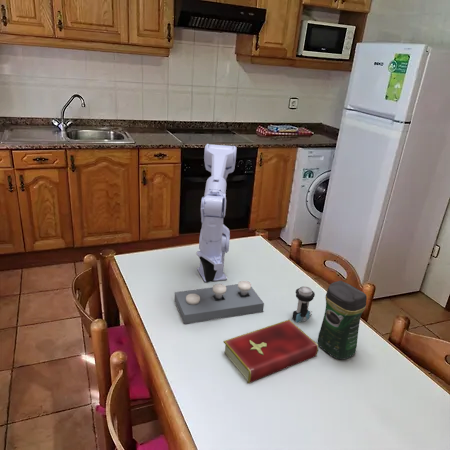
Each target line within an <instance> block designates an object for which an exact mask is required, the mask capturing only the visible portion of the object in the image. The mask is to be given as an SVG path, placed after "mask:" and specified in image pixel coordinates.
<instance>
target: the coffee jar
mask: <svg viewBox="0 0 450 450" xmlns="http://www.w3.org/2000/svg"><path fill="white" fill-rule="evenodd" d="M367 297H368V296H367V294H366V293H364V292H363V291H361V290H360V289H359V288H357V287H354V286H353V285H352V284H349V283H347V282H345V281H343V280H338V281H334V282H331V283H330V284H329V286H328V288H327V290H326V293H325V310H324V314H323V319H322V322H321V326H320V329H319V332H318V336H317V344H318V347H320V348H321V349H322V350H323V351H325V352H326V353H327V354H329V356H332V357H333V358H335V359H337V360H347V359H349V358H352V357H353V356H354V355H355V354H356V352H357V347H358V336H359V330H360V329H359V328H360V322H361V318H362V314H363V313H364V311H365V310H366V308H367V299H368V298H367Z"/></svg>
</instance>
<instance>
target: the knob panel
mask: <svg viewBox="0 0 450 450" xmlns="http://www.w3.org/2000/svg"><path fill="white" fill-rule="evenodd" d="M225 286H226V293H225V294H223V295H222V298H221V299H218V298H216V294H215V293H213V286H212V287H205V288H198V289H196V288H195V289H189V290H182V291H174V302H175V306H176V307H177V310H178V313H179V316H180V317H181V319H182V322H183V325H189V324H194V323H200V322H207V321H213V320H221V319H225V318H226V319H227V318H232V317H233V318H234V317H238V316H239V317H240V316H245V315H252V314H257V313H258V314H259V313H263V312H264V307H265V303H264V301H263V300H262V299H261V297H260V295H258V293H257V292H256V291H255V290H254V288H253V287H252V286H251V290H249V291H247V295H242V294H241V290H239V289H238V283H237V284H236V283H235V284H228V285H225ZM188 294H197V295H199V296H200V302H199V303H198V304H196V305H189V304H188V303H187V302H186V296H187V295H188Z"/></svg>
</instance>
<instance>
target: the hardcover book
mask: <svg viewBox="0 0 450 450" xmlns="http://www.w3.org/2000/svg"><path fill="white" fill-rule="evenodd" d="M223 344H224V353H225V355H226V356H227V357H228V358H229V360H230V361H231V362H232V363H233V365H234V366H235V367H236V368H237V369H238V371H239V372H240V373H241V375H243V377H245V379H246V380H247V383H248V384H250V383H253V382H255V381H257V380H260V379H263V378H265V377H268V376H271V375H272V374H275V373H277V372H280V371H283V370H285V369H287V368H289V367H292V366H295V365H297V364H300V363H302V362H305V361H307V360H310V359H312V358H315V357H318V356H317V355H318V353H319V344H318V342H316V341H315V340H313V339H312V338H311V337H310V336H309V335H308V334H307V333H305V332H304V331H303V330H302V329H301V328H299V326H297V325H296V324H295V323H294V322H293V321H292V320H290V319H287V320H284V321H280V322H277V323H275V324H271V325H268V326H264V327H261V328H259V329H255V330H253V331H250V332H247V333H243V334H241V335H237V336H235V337H231V338H228V339H225V340H223Z"/></svg>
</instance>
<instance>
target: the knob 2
mask: <svg viewBox="0 0 450 450" xmlns="http://www.w3.org/2000/svg"><path fill="white" fill-rule="evenodd" d="M237 284H238V289H239V290H241V294H242V295H247V291H249V290H251V287H252V283H251V282H250V281H247V280H241V281H238V283H237Z"/></svg>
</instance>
